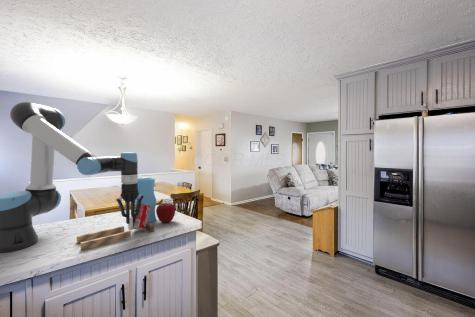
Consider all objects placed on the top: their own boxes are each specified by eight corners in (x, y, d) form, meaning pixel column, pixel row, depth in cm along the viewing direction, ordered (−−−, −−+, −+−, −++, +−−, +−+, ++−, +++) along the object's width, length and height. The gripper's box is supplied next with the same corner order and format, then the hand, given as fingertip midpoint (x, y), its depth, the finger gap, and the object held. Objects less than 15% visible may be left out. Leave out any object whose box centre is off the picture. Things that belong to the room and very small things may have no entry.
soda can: (143, 230, 114) (150, 205, 118) (128, 228, 113) (136, 202, 117) (145, 229, 121) (152, 205, 125) (131, 227, 120) (138, 203, 123)
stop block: (150, 232, 115) (150, 226, 115) (141, 226, 124) (141, 221, 124) (154, 231, 117) (154, 226, 117) (145, 226, 125) (145, 220, 125)
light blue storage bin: (135, 219, 137) (134, 178, 136) (151, 216, 143) (150, 177, 142) (139, 223, 130) (138, 180, 129) (156, 220, 136) (155, 179, 135)
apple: (160, 226, 125) (159, 205, 124) (153, 221, 133) (153, 202, 132) (178, 222, 132) (178, 202, 131) (171, 218, 140) (171, 199, 139)
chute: (81, 250, 95) (81, 243, 95) (76, 242, 104) (76, 236, 104) (131, 237, 109) (130, 231, 109) (123, 231, 117) (123, 225, 117)
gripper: (117, 185, 106) (118, 234, 107) (145, 182, 115) (146, 228, 115) (113, 183, 112) (114, 230, 112) (140, 181, 120) (140, 225, 121)
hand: (130, 229), depth 114 cm, fingers closed
